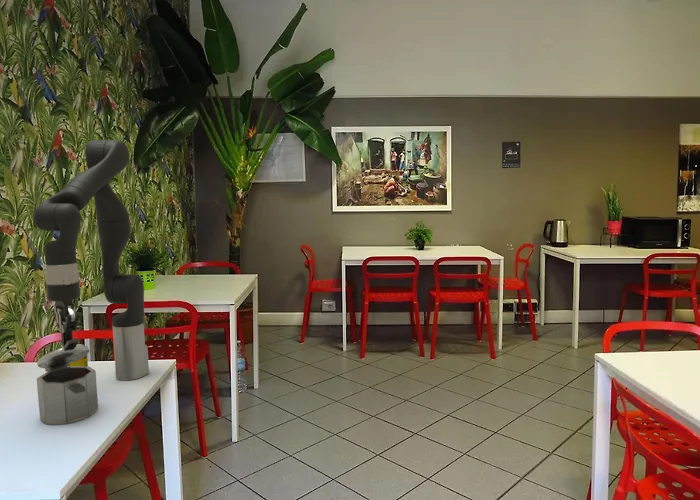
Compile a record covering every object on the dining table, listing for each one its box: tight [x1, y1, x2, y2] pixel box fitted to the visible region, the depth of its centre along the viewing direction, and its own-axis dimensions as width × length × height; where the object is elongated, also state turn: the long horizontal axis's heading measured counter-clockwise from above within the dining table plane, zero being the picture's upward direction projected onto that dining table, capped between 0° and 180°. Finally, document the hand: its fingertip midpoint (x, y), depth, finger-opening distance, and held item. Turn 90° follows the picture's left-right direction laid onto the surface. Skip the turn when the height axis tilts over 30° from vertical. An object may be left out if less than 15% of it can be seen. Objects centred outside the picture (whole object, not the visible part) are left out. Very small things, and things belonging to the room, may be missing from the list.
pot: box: [36, 365, 99, 426], centre depth 140 cm, size 14×18×11 cm
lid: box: [36, 338, 90, 372], centre depth 140 cm, size 12×19×2 cm
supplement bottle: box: [68, 354, 89, 367], centre depth 170 cm, size 6×6×10 cm
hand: (67, 345), depth 138 cm, fingers closed
